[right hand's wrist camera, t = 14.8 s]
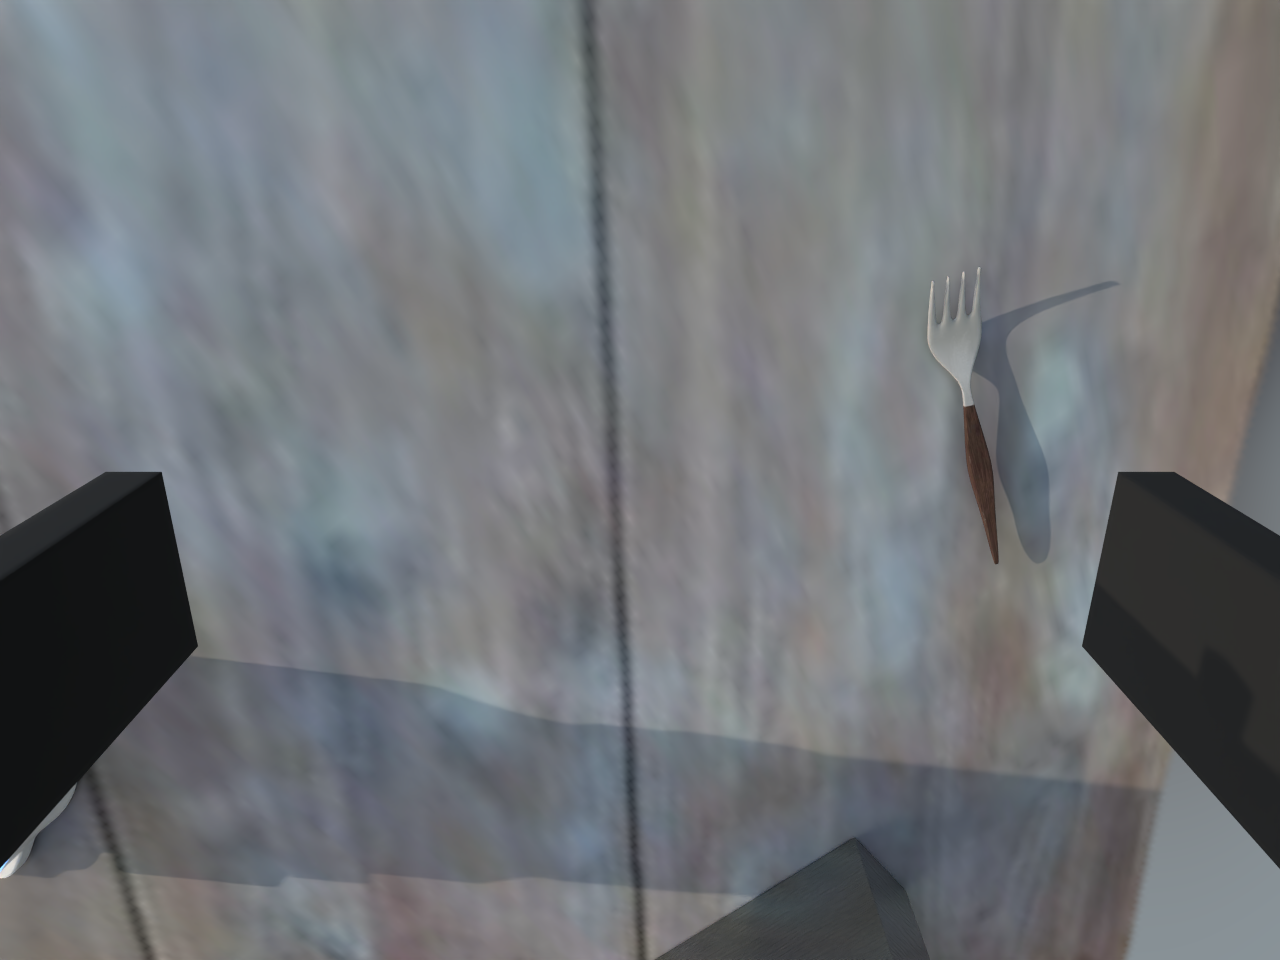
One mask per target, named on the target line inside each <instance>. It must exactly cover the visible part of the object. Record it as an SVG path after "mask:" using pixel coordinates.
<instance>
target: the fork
mask: <svg viewBox="0 0 1280 960" xmlns="http://www.w3.org/2000/svg"><path fill="white" fill-rule="evenodd" d="M980 273H981V267H978V272H977V278H976V284H975V291H974V298H973V307H972V311H971V313H970V315H967V314H966V311H965V272H963V274H962V280H961V287H960V294H959V303H958V312H957V316H956V318H955V319H952V318H951V314H950V285H949V281H950V279H949V276H948V277H947V282H946V290H945V298H944V308H943V317H942V321H941V323H939V324H938V323H937V322H936V316H935V297H934V281H932V282H931V292H930V302H929V315H928V336H927V337H928V345H929V348H930V350H931V352H932V354H933V355H934V357H935V358H936V359H937V360H938V362H939V363H940V364H941V365H942V366H943V367H944V368H945V369H946V370H947V371H948V372H949V373H950V374H951V375H952V376H953V377H954V378H955V379H956V380H957V381H958V383H959V385H960V387H961V390H962V395H963V407H964V428H965V448H966V460H967V467H968V472H969V477H970V480H971V484H972V488H973V491H974V494H975V497H976V500H977V504H978V507H979V510H980V513H981V517H982V520H983V524H984V528H985V531H986V535H987V539H988V542H989V546H990V550H991V553H992V557H993V560H994V563H995V564H998V561H999V560H998V543H997V530H996V516H995V498H994V481H993V471H992V465H991V460H990V456H989V452H988V449H987V445H986V442H985V438H984V435H983V432H982V429H981V425H980V422H979V419H978V415H977V412H976V409H975V405H974V402H973V398H972V394H971V389H970V379H971V374H972V370H973V366H974V363H975V359H976V356H977V353H978V349H979V345H980V340H981V333H982V323H981V313H980Z"/></svg>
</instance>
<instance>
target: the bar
mask: <svg viewBox="0 0 1280 960" xmlns="http://www.w3.org/2000/svg"><path fill="white" fill-rule="evenodd" d="M656 960H930V958H929V955H928V953H927V950H926V947H925V944H924V941H923V939H922V936H921V933H920V930H919V927H918V925H917V922H916V919H915V916H914V913H913V911H912V908H911V905H910V902H909V899H908V896H907V894H906V891H905V890H904V889H903V888H902V887H901V886H900V885H899V884H898V883H897V882H896V880H895V879H894V878H893V877H892V876H891V875H890V874H889V873H888V872H887V871H886V870H885V869H884V868H883V867H882V866H881V865H880V864H879V863H878V862H877V860H876V859H875V858H874V857H873V856H872V855H871V854H870V853H869V852H868V851H867V850H866V849H865V848H864V847H863V846H862V845H861V844H860V843H859V842H858V840H857V839H856V838H853V839H851V840H850V841H848V842H847V843H845V844H843V845H842V846H840V847H838V848H837V849H835V850H834V851H832V852H830V853H829V854H827V855H825V856H824V857H822V858H820V859H819V860H817V861H816V862H814V863H812V864H811V865H809V866H807V867H806V868H804V869H803V870H801V871H799V872H798V873H796V874H794V875H793V876H791V877H790V878H788V879H786V880H785V881H783V882H781V883H780V884H778V885H776V886H775V887H773V888H772V889H770V890H768V891H767V892H765V893H763V894H762V895H760V896H759V897H757V898H755V899H754V900H752V901H750V902H749V903H747V904H745V905H744V906H742V907H741V908H739V909H737V910H736V911H734V912H732V913H731V914H729V915H728V916H726V917H724V918H723V919H721V920H719V921H718V922H716V923H715V924H713V925H711V926H710V927H708V928H706V929H705V930H703V931H701V932H700V933H698V934H697V935H695V936H693V937H692V938H690V939H688V940H687V941H685V942H684V943H682V944H680V945H679V946H677V947H675V948H674V949H672V950H670V951H669V952H667V953H666V954H664V955H662V956H661V957H659V958H657V959H656Z"/></svg>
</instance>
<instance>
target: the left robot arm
mask: <svg viewBox="0 0 1280 960" xmlns="http://www.w3.org/2000/svg"><path fill="white" fill-rule="evenodd" d="M76 785H77V783H76V784H75V785H74V786H73V787H72V788H71V790H70V791H69V792H68V793H67V794H66V795H65V796H64V797H63V799H62V800H61V801H60V802H59V803H58V804H57V805H56V806H55V808H54V809H53V810H52V811H51V812H50V813H49V814H48V815H47V817H46V818H45V819H44V820H43V821H42V822H41V823H40V824H39V826H38V827H37V828H36V829H35V830H34V831H33V832H32V833H31V835H30V836H29V837H28V838H27V839H26V840H25V841H24V842H23V844H22V845H21V846H20V847H19V848H18V849H17V850H16V851H15V853H14V854H13V855H12V856H11V857H10V858H9V859H8V860H7V862H6V863H5V864H4V865H3V866H2V867H1V868H0V878H6V877H9V876H11V875H12V874H13V873H14V872H15V871H17V870H18V869H19V868H20V867H21V866H22V865H23V864H24V863H25V862H26V860H27V859H28V857H29V854H30V852H31V849H32V846H33V843H34V840H35V837H36V836H37V835H38V833H39V832H40V831H42V830H43V829H44V828H45V827H46V826H47V825H49V824H50V823H51V822H52V821H53V820H55V819H56V818H57V817H58V816H59V815H60V814H61V813H62V812H63V811H64V809H65V808H66V807H67V805H68V804H69V802H70V800H71V798H72V796H73V794H74V792H75V789H76Z"/></svg>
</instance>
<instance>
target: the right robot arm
mask: <svg viewBox="0 0 1280 960" xmlns="http://www.w3.org/2000/svg"><path fill="white" fill-rule="evenodd" d="M197 647H198V644H197V639H196V635H195V630H194V625H193V620H192V615H191V611H190V606H189V601H188V596H187V591H186V587H185V582H184V577H183V572H182V567H181V563H180V558H179V553H178V548H177V544H176V539H175V534H174V529H173V524H172V520H171V515H170V510H169V505H168V500H167V496H166V491H165V486H164V481H163V476H162V472H105V473H103V474H102V475H100V476H98V477H97V478H95V479H93V480H92V481H90V482H88V483H87V484H85V485H83V486H82V487H80V488H78V489H77V490H75V491H74V492H72V493H70V494H69V495H67V496H65V497H64V498H62V499H60V500H59V501H57V502H55V503H54V504H52V505H50V506H49V507H47V508H45V509H44V510H42V511H40V512H39V513H37V514H36V515H34V516H32V517H31V518H29V519H27V520H26V521H24V522H22V523H21V524H19V525H17V526H16V527H14V528H12V529H11V530H9V531H7V532H6V533H4V534H2V535H1V536H0V868H1V867H2V866H3V865H4V864H5V863H6V862H7V860H8V859H9V858H10V857H11V856H12V855H13V854H14V853H15V851H16V850H17V849H18V848H19V847H20V846H21V845H22V844H23V842H24V841H25V840H26V839H27V838H28V837H29V836H30V835H31V833H32V832H33V831H34V830H35V829H36V828H37V827H38V826H39V824H40V823H41V822H42V821H43V820H44V819H45V818H46V817H47V815H48V814H49V813H50V812H51V811H52V810H53V809H54V808H55V806H56V805H57V804H58V803H59V802H60V801H61V800H62V799H63V797H64V796H65V795H66V794H67V793H68V792H69V791H70V790H71V788H72V787H73V786H74V785H75V784H76V783H77V782H78V781H79V779H80V778H81V777H82V776H83V775H84V774H85V773H86V772H87V770H88V769H89V768H90V767H91V766H92V765H93V764H94V763H95V761H96V760H97V759H98V758H99V757H100V756H101V755H102V754H103V752H104V751H105V750H106V749H107V748H108V747H109V746H110V745H111V743H112V742H113V741H114V740H115V739H116V738H117V737H118V736H119V734H120V733H121V732H122V731H123V730H124V729H125V728H126V727H127V725H128V724H129V723H130V722H131V721H132V720H133V719H134V718H135V716H136V715H137V714H138V713H139V712H140V711H141V710H142V709H143V707H144V706H145V705H146V704H147V703H148V702H149V701H150V700H151V698H152V697H153V696H154V695H155V694H156V693H157V692H158V691H159V689H160V688H161V687H162V686H163V685H164V684H165V683H166V682H167V680H168V679H169V678H170V677H171V676H172V675H173V674H174V673H175V671H176V670H177V669H178V668H179V667H180V666H181V665H182V664H183V662H184V661H185V660H186V659H187V658H188V657H189V656H190V655H191V653H192V652H193V651H194V650H195V649H196V648H197ZM1082 647H1083V648H1084V649H1085V650H1086V651H1087V652H1088V653H1089V655H1090V656H1091V657H1092V658H1093V659H1094V660H1095V661H1096V662H1097V664H1098V665H1099V666H1100V667H1101V668H1102V669H1103V670H1104V671H1105V673H1106V674H1107V675H1108V676H1109V677H1110V678H1111V679H1112V680H1113V682H1114V683H1115V684H1116V685H1117V686H1118V687H1119V688H1120V689H1121V691H1122V692H1123V693H1124V694H1125V695H1126V696H1127V697H1128V698H1129V700H1130V701H1131V702H1132V703H1133V704H1134V705H1135V706H1136V707H1137V709H1138V710H1139V711H1140V712H1141V713H1142V714H1143V715H1144V716H1145V718H1146V719H1147V720H1148V721H1149V722H1150V723H1151V724H1152V725H1153V727H1154V728H1155V729H1156V730H1157V731H1158V732H1159V733H1160V734H1161V736H1162V737H1163V738H1164V739H1165V740H1166V741H1167V742H1168V743H1169V745H1170V746H1171V747H1172V748H1173V749H1174V750H1175V751H1176V752H1177V754H1178V755H1179V756H1180V757H1181V758H1182V759H1183V760H1184V761H1185V763H1186V764H1187V765H1188V766H1189V767H1190V768H1191V769H1192V770H1193V772H1194V773H1195V774H1196V775H1197V776H1198V777H1199V778H1200V779H1201V781H1202V782H1203V783H1204V784H1205V785H1206V786H1207V787H1208V788H1209V790H1210V791H1211V792H1212V793H1213V794H1214V795H1215V796H1216V797H1217V799H1218V800H1219V801H1220V802H1221V803H1222V804H1223V805H1224V806H1225V808H1226V809H1227V810H1228V811H1229V812H1230V813H1231V814H1232V815H1233V817H1234V818H1235V819H1236V820H1237V821H1238V822H1239V823H1240V824H1241V826H1242V827H1243V828H1244V829H1245V830H1246V831H1247V832H1248V833H1249V835H1250V836H1251V837H1252V838H1253V839H1254V840H1255V841H1256V842H1257V844H1258V845H1259V846H1260V847H1261V848H1262V849H1263V850H1264V851H1265V853H1266V854H1267V855H1268V856H1269V857H1270V858H1271V859H1272V860H1273V862H1274V863H1275V864H1276V865H1277V866H1278V867H1279V868H1280V536H1279V535H1277V534H1276V533H1274V532H1273V531H1271V530H1269V529H1268V528H1266V527H1264V526H1263V525H1261V524H1259V523H1258V522H1256V521H1254V520H1253V519H1251V518H1249V517H1248V516H1246V515H1244V514H1243V513H1241V512H1240V511H1238V510H1236V509H1235V508H1233V507H1231V506H1230V505H1228V504H1226V503H1225V502H1223V501H1221V500H1220V499H1218V498H1216V497H1215V496H1213V495H1211V494H1210V493H1208V492H1206V491H1205V490H1203V489H1202V488H1200V487H1198V486H1197V485H1195V484H1193V483H1192V482H1190V481H1188V480H1187V479H1185V478H1183V477H1182V476H1180V475H1178V474H1177V473H1175V472H1118V476H1117V481H1116V486H1115V491H1114V496H1113V500H1112V505H1111V510H1110V515H1109V520H1108V524H1107V529H1106V534H1105V539H1104V544H1103V548H1102V553H1101V558H1100V563H1099V567H1098V572H1097V577H1096V582H1095V587H1094V591H1093V596H1092V601H1091V606H1090V611H1089V615H1088V620H1087V625H1086V630H1085V635H1084V639H1083V644H1082Z"/></svg>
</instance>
